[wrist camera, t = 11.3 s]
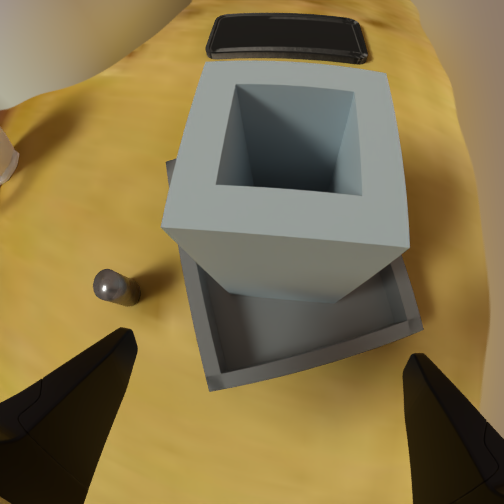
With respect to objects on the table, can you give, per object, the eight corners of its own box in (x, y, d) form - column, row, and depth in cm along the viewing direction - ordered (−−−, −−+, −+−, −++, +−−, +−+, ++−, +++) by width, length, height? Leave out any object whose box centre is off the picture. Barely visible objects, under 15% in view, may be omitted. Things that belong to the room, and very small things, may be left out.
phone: (369, 60, 23) (203, 54, 24) (367, 68, 24) (205, 62, 25) (357, 18, 25) (217, 14, 26) (356, 26, 26) (218, 21, 27)
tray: (404, 331, 17) (423, 329, 14) (219, 384, 17) (209, 391, 15) (337, 143, 21) (343, 119, 18) (178, 182, 21) (165, 161, 19)
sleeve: (334, 303, 17) (410, 247, 7) (229, 293, 18) (160, 226, 7) (338, 183, 19) (378, 46, 9) (245, 176, 20) (214, 36, 9)
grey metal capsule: (142, 303, 19) (120, 296, 16) (119, 308, 19) (95, 302, 16) (138, 276, 20) (117, 265, 17) (115, 282, 20) (91, 272, 17)
